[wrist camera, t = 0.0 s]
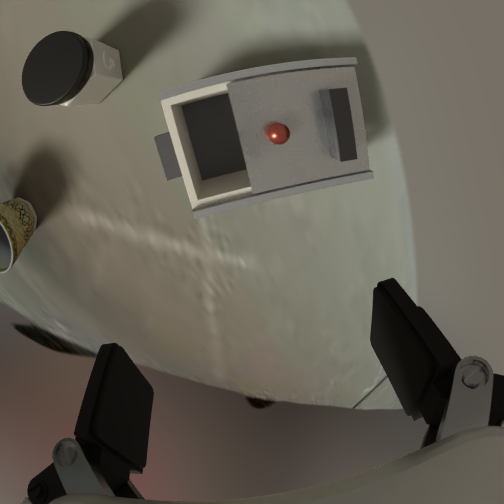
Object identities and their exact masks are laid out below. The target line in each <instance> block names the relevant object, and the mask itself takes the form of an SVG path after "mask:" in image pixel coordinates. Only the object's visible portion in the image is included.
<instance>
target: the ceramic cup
mask: <svg viewBox="0 0 504 504" xmlns="http://www.w3.org/2000/svg"><path fill="white" fill-rule="evenodd" d="M36 223H37V215H36V213H35V211H34V209H33V207H32V205H31V203H30V202H28V201H26V200H24V199H22V198H19V197H18V198H15V199H12V200H9V201H6V202H3V203H1V204H0V274H4V273H6V272H8V271H9V270H10V269H11V267H12V266H13V264H14V263H15V261H16V260H17V258H18V256H19V255H20V253H21V251H22V249H23V248H24V246H25V245H26V243H27V242H28V240H29V239H30V237H31V236H32V234H33V233H34V231H35V229H36Z"/></svg>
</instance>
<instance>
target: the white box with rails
mask: <svg viewBox="0 0 504 504" xmlns="http://www.w3.org/2000/svg"><path fill="white" fill-rule="evenodd" d="M356 64H358V63H357V58H356V57H341V58H325V59H312V60H302V61H294V62H286V63H279V64H272V65H266V66H260V67H254V68H249V69H244V70H239V71H234V72H229V73H225V74H221V75H216V76H212V77H208V78H205V79H201V80H197V81H193V82H190V83H186V84H183V85H180V86H176V87H173V88H170V89H167V90H164V91H161V92H158V93H157V96H158V100H160V101H161V103H162V107H163V111H164V114H165V118H166V121H167V125H168V129H169V132H167V133H164V134H161V135H158V136H156V137H154V139H155V142H156V145H157V149H158V152H159V155H160V159H161V162H162V165H163V168H164V172H165V175H166V178H167V180H170V179H174V178H177V177H180V176H183V180H184V183H185V186H186V189H187V192H188V196H189V199H190V202H191V205H192V208H193V210H192V214H193V217H194V219H197V218H201V217H205V216H208V215H212V214H216V213H220V212H224V211H228V210H232V209H236V208H240V207H244V206H248V205H252V204H256V203H260V202H265V201H269V200H273V199H277V198H282V197H286V196H290V195H295V194H299V193H304V192H308V191H313V190H318V189H322V188H327V187H332V186H337V185H342V184H347V183H352V182H357V181H362V180H367V179H372V178H374V177H373V171H371V170H365V171H360V172H354V173H349V174H344V175H339V176H334V177H329V178H324V179H319V180H314V181H309V182H304V183H300V184H295V185H290V186H286V187H282V188H277V189H273V190H268V191H264V192H260V193H256V194H253V193H252V189H251V185H250V181H249V177H248V172H247V168H246V164H245V160H244V156H243V152H242V147H241V143H240V139H239V135H238V131H237V127H236V123H235V118H234V114H233V110H232V106H231V102H230V98H229V94H228V90H227V86H226V84H229V83H234V82H238V81H243V80H248V79H253V78H259V77H264V76H270V75H276V74H283V73H290V72H291V70H297V69H305V68H315V67H319V69H326V68H340V67H347V66H351V65H356ZM289 70H290V71H289ZM282 71H283V72H282ZM275 72H276V73H275ZM269 73H270V74H269ZM263 74H264V75H263ZM252 76H253V77H252ZM247 77H248V78H247ZM242 78H243V79H242ZM228 81H229V82H228ZM200 88H201V89H200ZM179 94H180V95H179ZM249 194H250V195H249ZM245 195H246V196H245ZM241 196H242V197H241ZM237 197H238V198H237ZM233 198H234V199H233ZM229 199H230V200H229ZM225 200H226V201H225ZM221 201H222V202H221ZM217 202H218V203H217ZM213 203H215V204H213ZM210 204H211V205H210ZM206 205H207V206H206ZM202 206H203V207H202ZM198 207H199V208H198ZM195 208H196V209H195Z"/></svg>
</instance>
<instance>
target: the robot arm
mask: <svg viewBox="0 0 504 504" xmlns="http://www.w3.org/2000/svg"><path fill="white" fill-rule="evenodd" d="M370 341H371V345H372V347H373V349H374V351H375V353H376V355H377V357H378V359H379V361H380V363H381V365H382V366H383V368H384V370H385V372H386V374H387V376H388V378H389V380H390V382H391V384H392V386H393V388H394V390H395V392H396V394H397V396H398V398H399V400H400V402H401V404H402V406H403V408H404V410H405V412H406V414H407V415H408V416H410V415H412V417H413V419H414V421H415V420H417V419H419V418H421V417H423V418H424V419H425V422H426V424H427V428H426V431H425V434H424V437H423V440H422V443H421V446H420V449H419V450H417V451H415V452H413V453H411V454H408V455H406V456H404V457H401V458H399V459H397V460H394V461H392V462H389V463H386V464H384V465H381V466H378V467H376V468H373V469H370V470H367V471H365V472H362V473H359V474H356V475H353V476H349V477H346V478H343V479H340V480H336V481H333V482H329V483H325V484H321V485H318V486H314V487H310V488H305V489H301V490H296V491H290V492H285V493H279V494H273V495H267V496H260V497H253V498H245V499H244V498H243V499H234V500H218V501H158V500H145V499H144V497H143V496H142V495H141V494H140V492H139V491H138V490H137V488H136V487H135V486H134V484H133V483H132V481H131V480H130V479H129V476H130V473H135V474H142V472H143V468H144V467H145V466H146V459H147V447H148V438H149V428H150V420H151V411H152V403H153V395H154V392H153V388H152V386H151V385H150V384H149V382H148V381H147V380H146V378H145V377H144V376H143V375H142V373H141V372H140V371H139V369H138V368H137V367H136V365H135V364H134V363H133V361H132V360H131V359H130V357H129V356H128V354H127V353H126V352H125V350H124V349H123V348H122V347H121V346H119V345H118V344H116V343H110V344H103V345H101V347H100V349H99V352H98V355H97V358H96V361H95V364H94V367H93V370H92V373H91V376H90V379H89V382H88V385H87V388H86V392H85V395H84V399H83V402H82V405H81V409H80V412H79V416H78V420H77V423H76V427H75V432H74V435H75V436H76V438H75V439H73V438H69V437H68V438H63V439H61V440H60V441H59V442H57V443H56V445H55V447H54V449H53V453H52V459H53V463H52V464H51V465H50V466H48V467H47V468H46V469H45V470H43V471H42V472H41V473H39V475H37V476H36V477H34V478H33V479H32V480H31V481H30V483H29V485H28V497H29V498H27V497H26V498H25V499H24V500H23V502H22V503H21V504H504V376H503V375H499V374H493V370H492V368H491V365H490V364H489V363H488V362H487V361H486V360H484V359H483V358H481V357H478V356H469V357H466V358H464V359H462V360H461V359H460V357H459V356H458V354H457V353H456V351H455V350H454V349H453V347H452V346H451V344H450V343H449V342H448V340H447V339H446V338H445V336H444V335H443V334H442V332H441V331H440V330H439V328H438V327H437V326H436V324H435V323H434V322H433V321H432V319H431V318H430V317H429V315H428V314H427V313H426V312H425V310H424V309H423V308H421V307H419V306H418V307H417V306H416V304H415V303H414V302H413V301H412V299H411V298H410V297H409V296H408V294H407V293H406V292H405V291H404V289H403V288H402V287H401V286H400V285H399V283H398V282H397V281H396V280H395V279H394V278H391V279H387V280H384V281H381V282H378V284H377V287H375V288H374V291H373V309H372V323H371V335H370Z"/></svg>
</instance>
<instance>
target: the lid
mask: <svg viewBox="0 0 504 504" xmlns="http://www.w3.org/2000/svg"><path fill="white" fill-rule="evenodd" d="M226 86H227V90H228V94H229V98H230V102H231V106H232V110H233V114H234V118H235V123H236V127H237V131H238V135H239V139H240V143H241V147H242V152H243V156H244V160H245V164H246V168H247V172H248V177H249V181H250V185H251V189H252V193H253V194H256V193H260V192H264V191H268V190H273V189H277V188H282V187H286V186H290V185H295V184H300V183H304V182H309V181H314V180H319V179H324V178H329V177H334V176H339V175H344V174H349V173H354V172H360V171H365V170H369V160H368V150H367V141H366V133H365V125H364V118H363V111H362V105H361V99H360V93H359V87H358V82H357V77H356V72H355V67H340V68H326V69H315V70H306V71H298V72H290V73H283V74H276V75H270V76H264V77H259V78H253V79H248V80H243V81H238V82H234V83H229V84H226Z"/></svg>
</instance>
